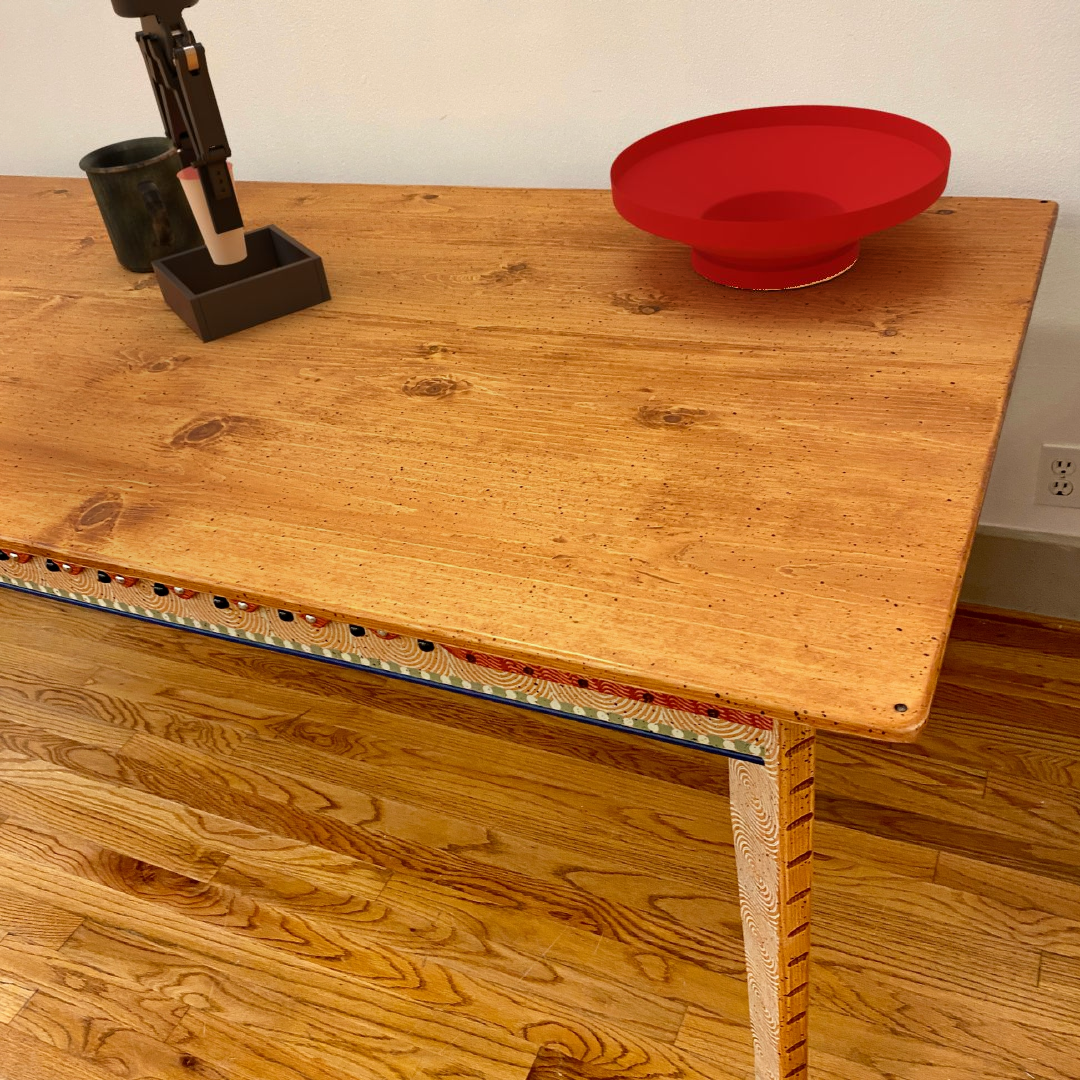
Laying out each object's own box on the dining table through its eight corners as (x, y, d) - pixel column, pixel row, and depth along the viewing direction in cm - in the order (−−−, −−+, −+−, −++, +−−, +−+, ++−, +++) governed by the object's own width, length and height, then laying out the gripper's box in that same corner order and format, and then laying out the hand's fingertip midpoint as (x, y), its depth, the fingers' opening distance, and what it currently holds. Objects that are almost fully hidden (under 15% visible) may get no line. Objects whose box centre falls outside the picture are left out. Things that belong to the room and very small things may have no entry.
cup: (220, 273, 107) (183, 149, 100) (194, 261, 110) (156, 141, 103) (266, 254, 110) (234, 133, 103) (239, 244, 113) (206, 125, 106)
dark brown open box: (204, 343, 105) (189, 300, 103) (164, 301, 115) (150, 261, 112) (331, 298, 110) (321, 256, 108) (283, 263, 120) (272, 223, 118)
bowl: (680, 195, 122) (677, 103, 116) (965, 208, 110) (977, 105, 104) (567, 311, 101) (555, 206, 95) (903, 344, 89) (913, 225, 83)
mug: (197, 230, 132) (166, 129, 125) (228, 265, 122) (196, 157, 115) (108, 255, 129) (70, 153, 122) (132, 293, 118) (92, 184, 111)
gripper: (219, -41, 89) (288, 234, 102) (157, -54, 102) (226, 191, 116) (129, -23, 86) (212, 257, 100) (77, -39, 99) (157, 210, 113)
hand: (219, 221), depth 108 cm, fingers closed on cup, 5 cm apart
